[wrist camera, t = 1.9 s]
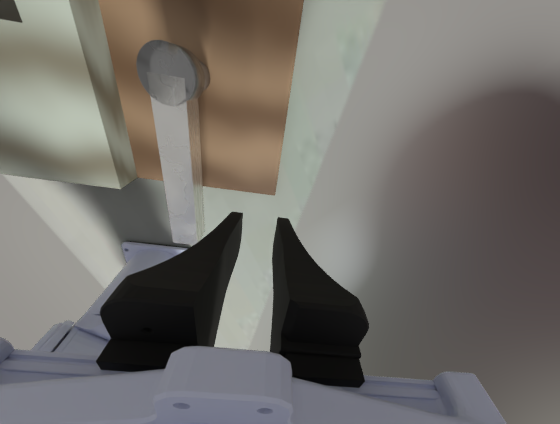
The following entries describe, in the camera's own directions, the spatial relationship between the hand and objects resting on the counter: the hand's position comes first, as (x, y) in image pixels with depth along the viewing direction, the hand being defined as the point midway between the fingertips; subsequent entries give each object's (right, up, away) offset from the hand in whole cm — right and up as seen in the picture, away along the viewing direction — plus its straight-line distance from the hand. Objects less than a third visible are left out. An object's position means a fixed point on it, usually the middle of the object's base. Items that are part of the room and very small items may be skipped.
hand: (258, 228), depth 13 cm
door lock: (-9, +11, +4) cm, 15 cm away
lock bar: (-6, +5, +3) cm, 8 cm away
